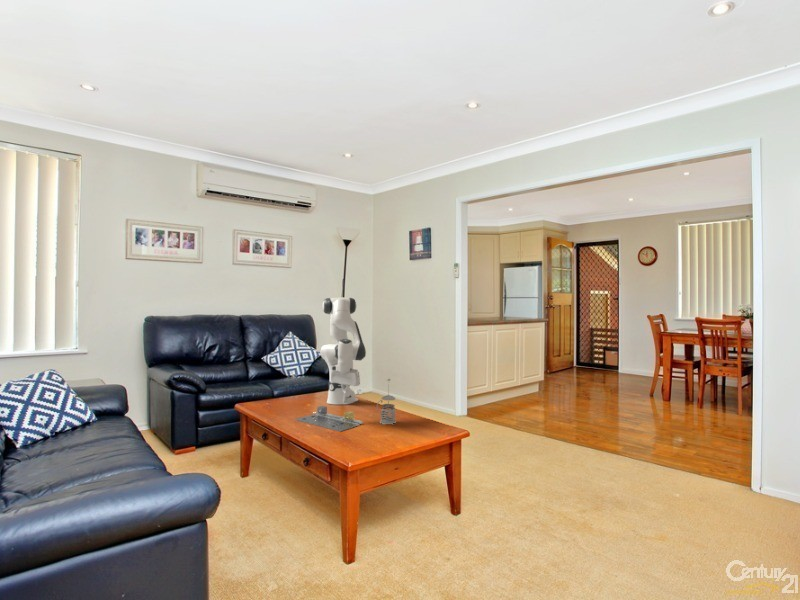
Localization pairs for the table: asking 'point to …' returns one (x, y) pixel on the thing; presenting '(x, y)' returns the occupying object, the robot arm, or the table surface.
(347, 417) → the sliding head
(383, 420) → the french press
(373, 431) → the table surface
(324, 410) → the trammel beam
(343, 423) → the flange plate
